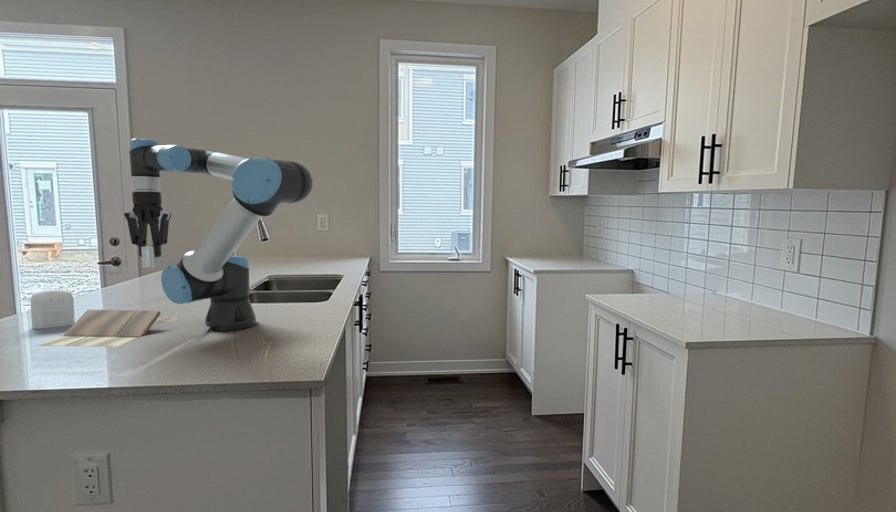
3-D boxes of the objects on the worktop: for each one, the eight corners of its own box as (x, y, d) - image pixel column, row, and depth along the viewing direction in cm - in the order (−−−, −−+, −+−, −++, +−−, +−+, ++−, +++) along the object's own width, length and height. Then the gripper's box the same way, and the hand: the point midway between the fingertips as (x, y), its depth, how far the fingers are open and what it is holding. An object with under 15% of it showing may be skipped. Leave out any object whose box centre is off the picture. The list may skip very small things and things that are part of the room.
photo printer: (76, 325, 152) (73, 287, 150) (74, 328, 148) (71, 289, 147) (33, 329, 146) (30, 290, 145) (31, 333, 143) (27, 292, 141)
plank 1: (160, 313, 147) (159, 310, 146) (141, 339, 138) (140, 336, 137) (89, 312, 147) (87, 309, 146) (65, 337, 138) (63, 334, 137)
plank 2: (180, 321, 158) (180, 318, 158) (172, 326, 153) (172, 322, 153) (116, 322, 157) (116, 318, 156) (106, 326, 151) (106, 322, 151)
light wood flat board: (139, 340, 137) (139, 336, 137) (118, 350, 128) (118, 346, 128) (63, 339, 137) (62, 335, 137) (36, 349, 128) (35, 344, 128)
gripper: (178, 191, 149) (182, 266, 152) (129, 190, 149) (134, 265, 152) (164, 191, 142) (168, 269, 144) (113, 190, 141) (118, 268, 144)
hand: (150, 267), depth 148 cm, fingers open, 2 cm apart
